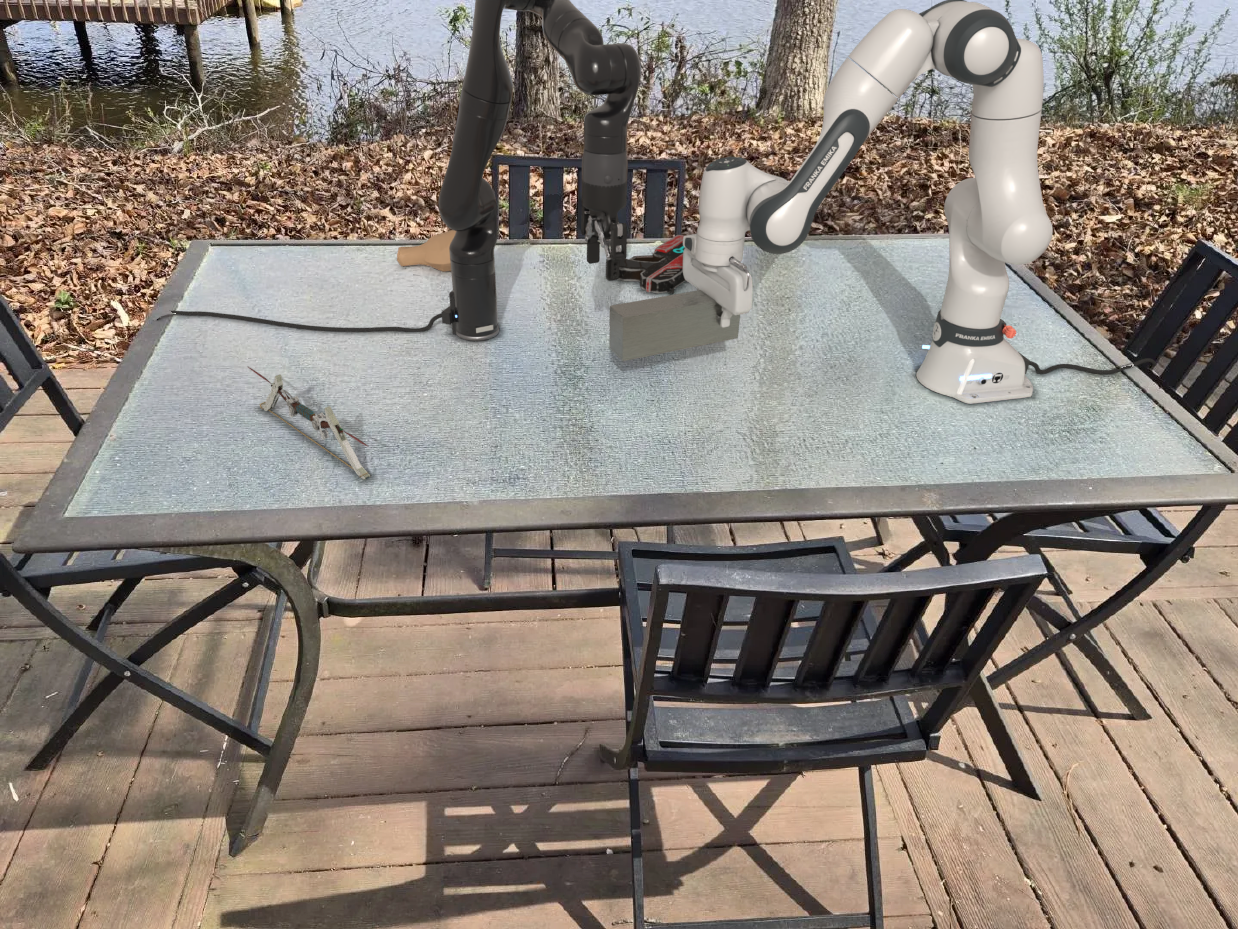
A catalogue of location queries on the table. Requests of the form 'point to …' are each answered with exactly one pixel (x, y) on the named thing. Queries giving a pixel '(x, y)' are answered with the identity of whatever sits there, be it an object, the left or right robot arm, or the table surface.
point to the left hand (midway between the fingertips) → (602, 270)
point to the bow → (314, 422)
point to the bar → (667, 325)
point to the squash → (429, 252)
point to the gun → (656, 267)
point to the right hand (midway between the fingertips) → (713, 318)
